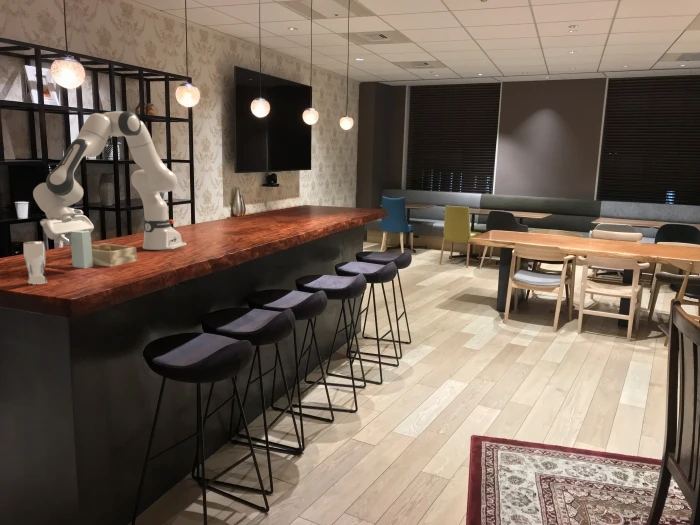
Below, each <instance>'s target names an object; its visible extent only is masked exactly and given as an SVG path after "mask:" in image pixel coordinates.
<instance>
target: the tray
mask: <svg viewBox="0 0 700 525" xmlns="http://www.w3.org/2000/svg"><path fill="white" fill-rule="evenodd" d="M109 244H110V248H111V250H114V251H111V252H109V251H101V250H93V249H92V260H93V265H96V266H104V267H109V268H110V267H111V268H112V267H117V266H121V265H126V264H129V263H133V262H137V261H138V256H137V255H138V254H137V247H136V246H129V245H127V246H126V245H119V244H111V243H109Z"/></svg>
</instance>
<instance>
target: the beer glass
mask: <svg viewBox="0 0 700 525" xmlns="http://www.w3.org/2000/svg"><path fill="white" fill-rule="evenodd" d="M46 255H47V253H46V247H45V242H44V241H41V240H38V241H36V240H35V241H34V240H33V241H27V242H23V258H24V262H25V266H26V269H27V274H28V279H27V283H28V285H31V284H32V285H34V286H35V285H36V284H37V285H43V284H46V283H48V280H47V276H46V263H47V262H46V261H47V260H46V259H47V256H46ZM32 285H31V286H32ZM37 285H36V286H37Z"/></svg>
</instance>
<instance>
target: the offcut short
mask: <svg viewBox="0 0 700 525" xmlns="http://www.w3.org/2000/svg"><path fill="white" fill-rule="evenodd" d="M110 244H111V243H105V242H102V243H96V244H91V247H92V249H93V250H101V251H111V248H110Z"/></svg>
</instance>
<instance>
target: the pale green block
mask: <svg viewBox="0 0 700 525" xmlns="http://www.w3.org/2000/svg"><path fill="white" fill-rule="evenodd" d="M91 237H92V236H91V233H90V231H81V230H78V231H71V233H70V237H69V238H70V240H71V241H72V244H71V245H70V249H71V252H70V253H71V261H72V268H73V267H74V268H80V269H88V268H92V267H94V264H93V260H92V247H91V245H92V238H91Z"/></svg>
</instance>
